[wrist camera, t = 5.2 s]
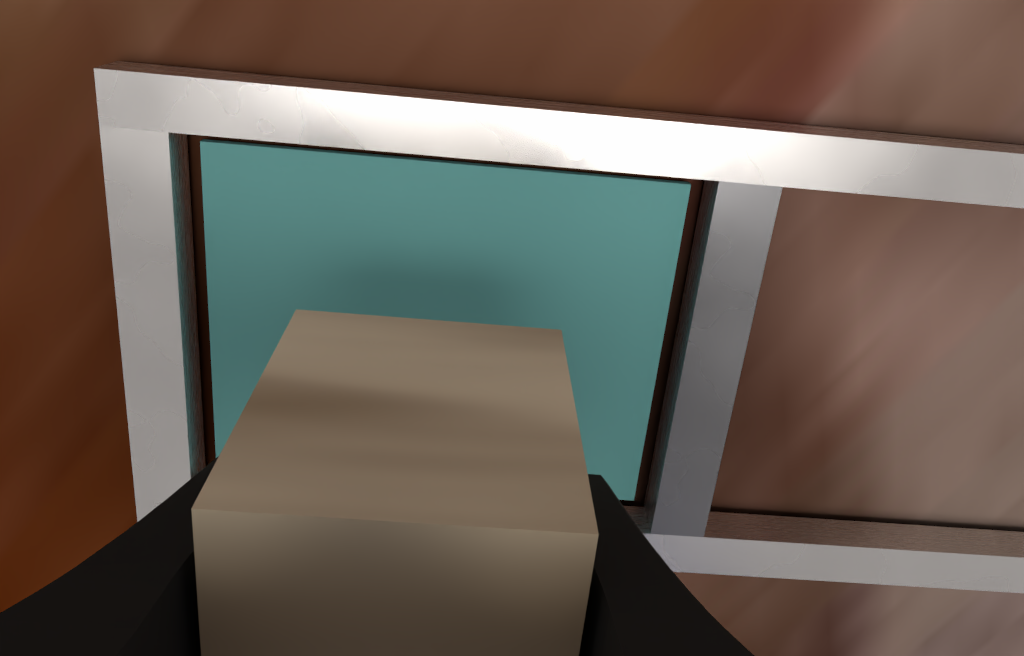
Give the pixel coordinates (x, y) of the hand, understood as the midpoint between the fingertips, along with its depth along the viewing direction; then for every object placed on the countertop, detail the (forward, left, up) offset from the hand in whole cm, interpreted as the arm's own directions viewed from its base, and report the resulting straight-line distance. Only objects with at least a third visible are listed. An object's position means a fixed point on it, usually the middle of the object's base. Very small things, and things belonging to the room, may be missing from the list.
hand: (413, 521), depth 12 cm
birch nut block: (0, 0, -2) cm, 2 cm away
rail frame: (0, -6, -6) cm, 9 cm away
